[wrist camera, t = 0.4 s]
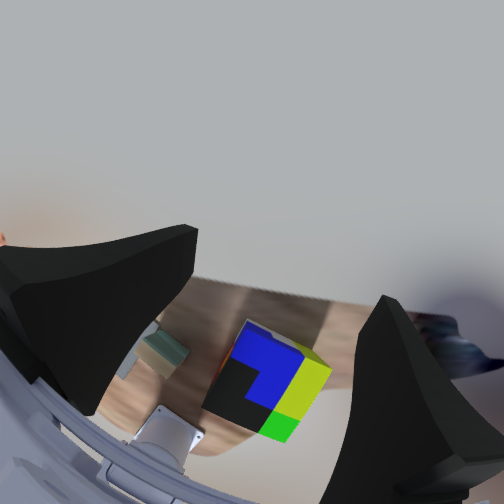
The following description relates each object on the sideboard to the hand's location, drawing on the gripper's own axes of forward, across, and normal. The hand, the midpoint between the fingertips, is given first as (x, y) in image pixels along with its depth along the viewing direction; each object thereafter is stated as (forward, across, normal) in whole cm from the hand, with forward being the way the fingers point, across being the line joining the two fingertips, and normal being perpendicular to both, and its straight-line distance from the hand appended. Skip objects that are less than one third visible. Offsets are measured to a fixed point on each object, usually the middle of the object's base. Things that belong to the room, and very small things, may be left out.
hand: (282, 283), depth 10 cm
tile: (+12, +12, +26) cm, 31 cm away
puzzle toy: (+15, -1, +25) cm, 29 cm away
